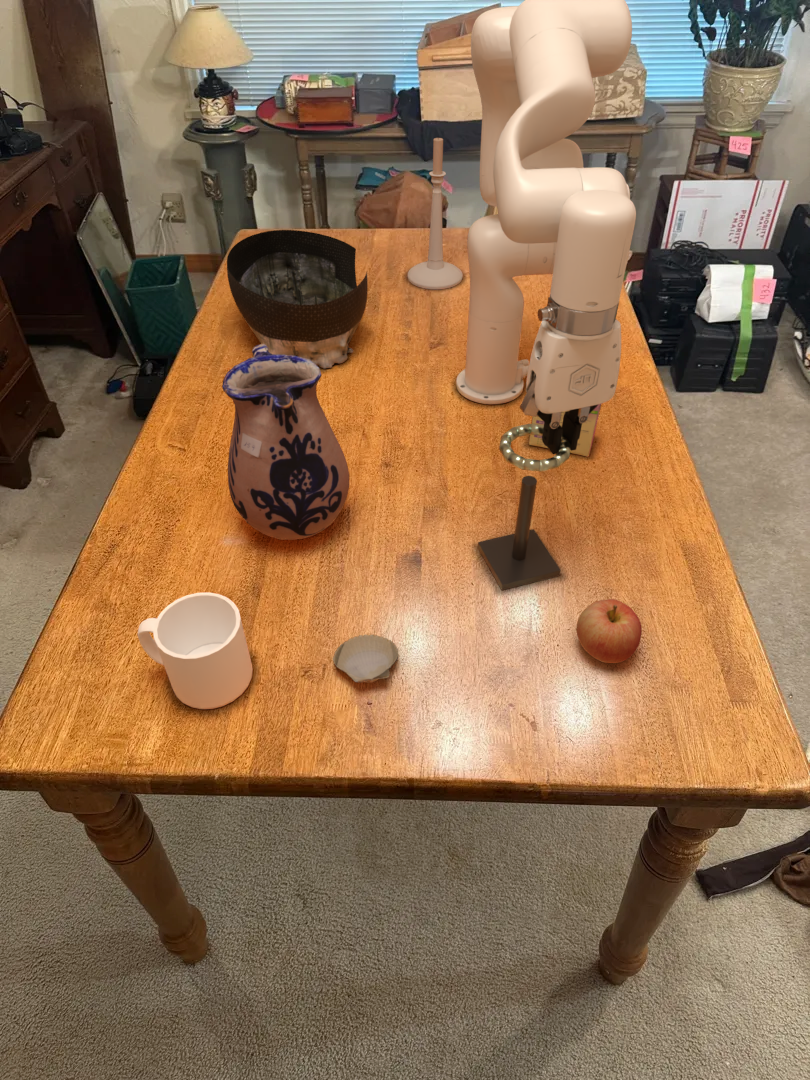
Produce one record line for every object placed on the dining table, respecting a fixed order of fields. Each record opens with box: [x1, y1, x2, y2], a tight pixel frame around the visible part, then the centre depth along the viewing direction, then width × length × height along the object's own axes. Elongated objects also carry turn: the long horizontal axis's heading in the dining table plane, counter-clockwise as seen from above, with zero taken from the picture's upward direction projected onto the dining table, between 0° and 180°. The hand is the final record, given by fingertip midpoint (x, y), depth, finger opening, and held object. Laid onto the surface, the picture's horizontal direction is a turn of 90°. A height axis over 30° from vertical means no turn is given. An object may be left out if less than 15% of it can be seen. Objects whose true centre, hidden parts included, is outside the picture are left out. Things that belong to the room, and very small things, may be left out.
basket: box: [226, 229, 369, 369], centre depth 152 cm, size 28×35×16 cm
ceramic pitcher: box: [221, 343, 350, 541], centre depth 109 cm, size 18×21×25 cm
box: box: [528, 404, 602, 458], centre depth 127 cm, size 10×6×12 cm, turn 71°
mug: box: [136, 591, 254, 710], centre depth 92 cm, size 13×10×10 cm
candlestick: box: [407, 137, 464, 290], centre depth 166 cm, size 13×13×30 cm
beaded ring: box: [498, 423, 571, 473], centre depth 96 cm, size 9×9×1 cm
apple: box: [576, 598, 642, 664], centre depth 96 cm, size 8×8×8 cm
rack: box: [477, 475, 562, 591], centre depth 105 cm, size 9×9×15 cm
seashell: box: [332, 634, 399, 684], centre depth 96 cm, size 8×3×8 cm
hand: (559, 445), depth 97 cm, fingers closed on beaded ring, 1 cm apart
